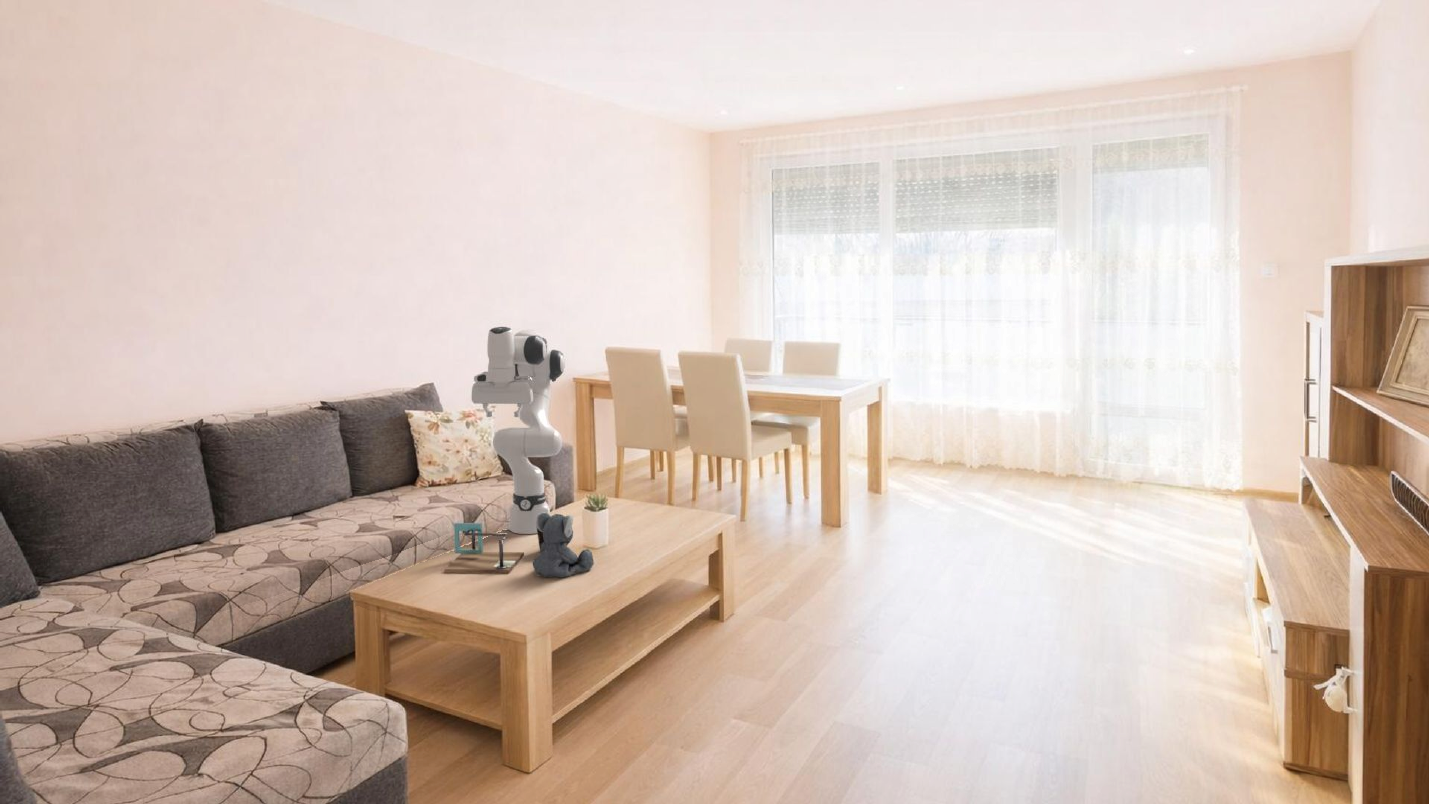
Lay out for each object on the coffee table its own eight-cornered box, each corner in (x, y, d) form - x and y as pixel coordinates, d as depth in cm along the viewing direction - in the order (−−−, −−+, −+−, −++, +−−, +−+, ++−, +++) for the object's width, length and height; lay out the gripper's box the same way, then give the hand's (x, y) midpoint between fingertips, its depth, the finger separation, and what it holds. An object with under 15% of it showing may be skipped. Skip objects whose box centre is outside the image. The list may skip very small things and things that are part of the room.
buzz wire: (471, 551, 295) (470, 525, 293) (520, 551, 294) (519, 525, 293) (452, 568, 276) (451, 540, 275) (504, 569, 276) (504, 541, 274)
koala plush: (597, 568, 280) (596, 510, 278) (558, 584, 266) (557, 523, 263) (559, 559, 290) (557, 503, 287) (519, 574, 275) (517, 514, 273)
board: (463, 554, 294) (463, 550, 294) (524, 555, 294) (524, 551, 293) (444, 572, 276) (444, 568, 276) (509, 573, 275) (509, 569, 275)
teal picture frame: (456, 552, 289) (455, 522, 287) (482, 552, 288) (481, 523, 287) (455, 553, 288) (454, 523, 286) (481, 553, 287) (480, 524, 286)
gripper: (534, 375, 290) (536, 415, 292) (474, 374, 290) (476, 415, 292) (530, 377, 284) (531, 418, 285) (469, 376, 284) (470, 418, 286)
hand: (503, 416), depth 289 cm, fingers open, 8 cm apart
